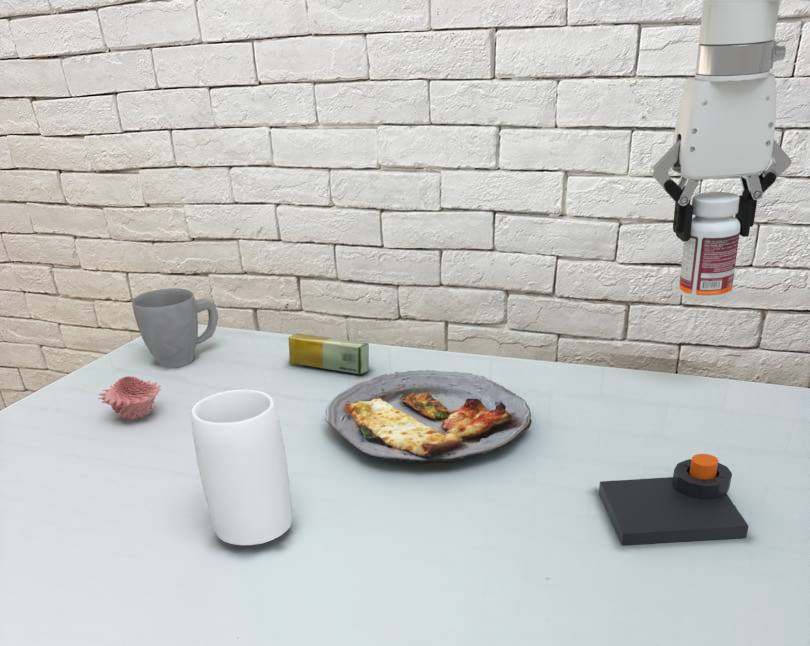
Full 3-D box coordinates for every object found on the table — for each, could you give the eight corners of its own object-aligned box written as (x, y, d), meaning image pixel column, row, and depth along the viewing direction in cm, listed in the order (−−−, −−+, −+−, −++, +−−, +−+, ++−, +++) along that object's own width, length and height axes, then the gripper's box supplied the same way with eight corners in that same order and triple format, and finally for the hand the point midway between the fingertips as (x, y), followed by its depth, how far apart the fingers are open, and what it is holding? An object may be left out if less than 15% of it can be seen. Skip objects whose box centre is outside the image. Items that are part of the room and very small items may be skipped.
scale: (716, 482, 91) (720, 457, 89) (754, 537, 82) (759, 511, 80) (597, 489, 91) (599, 464, 89) (621, 545, 82) (624, 519, 80)
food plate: (568, 438, 101) (569, 411, 99) (398, 497, 91) (396, 468, 90) (452, 372, 119) (451, 348, 117) (300, 416, 110) (297, 390, 108)
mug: (157, 377, 123) (142, 312, 117) (138, 359, 129) (123, 296, 124) (234, 357, 128) (223, 293, 123) (212, 341, 134) (201, 279, 129)
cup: (206, 523, 89) (180, 397, 81) (285, 504, 91) (266, 381, 84) (222, 566, 82) (194, 434, 75) (306, 545, 85) (288, 415, 77)
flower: (178, 415, 112) (170, 375, 109) (123, 436, 107) (113, 396, 104) (147, 399, 117) (138, 360, 113) (93, 419, 112) (82, 379, 109)
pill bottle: (740, 291, 104) (755, 193, 98) (714, 305, 100) (728, 204, 94) (694, 283, 108) (706, 188, 102) (668, 296, 104) (678, 199, 98)
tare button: (711, 467, 88) (713, 452, 87) (719, 480, 86) (722, 465, 85) (685, 469, 88) (688, 454, 87) (693, 481, 86) (696, 466, 85)
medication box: (370, 370, 121) (370, 342, 119) (361, 375, 119) (361, 347, 117) (297, 358, 126) (296, 331, 124) (288, 363, 124) (286, 336, 122)
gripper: (800, 53, 94) (772, 222, 103) (642, 65, 94) (630, 234, 104) (831, 58, 87) (798, 238, 97) (662, 71, 87) (646, 250, 97)
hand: (711, 234), depth 100 cm, fingers closed on pill bottle, 6 cm apart
